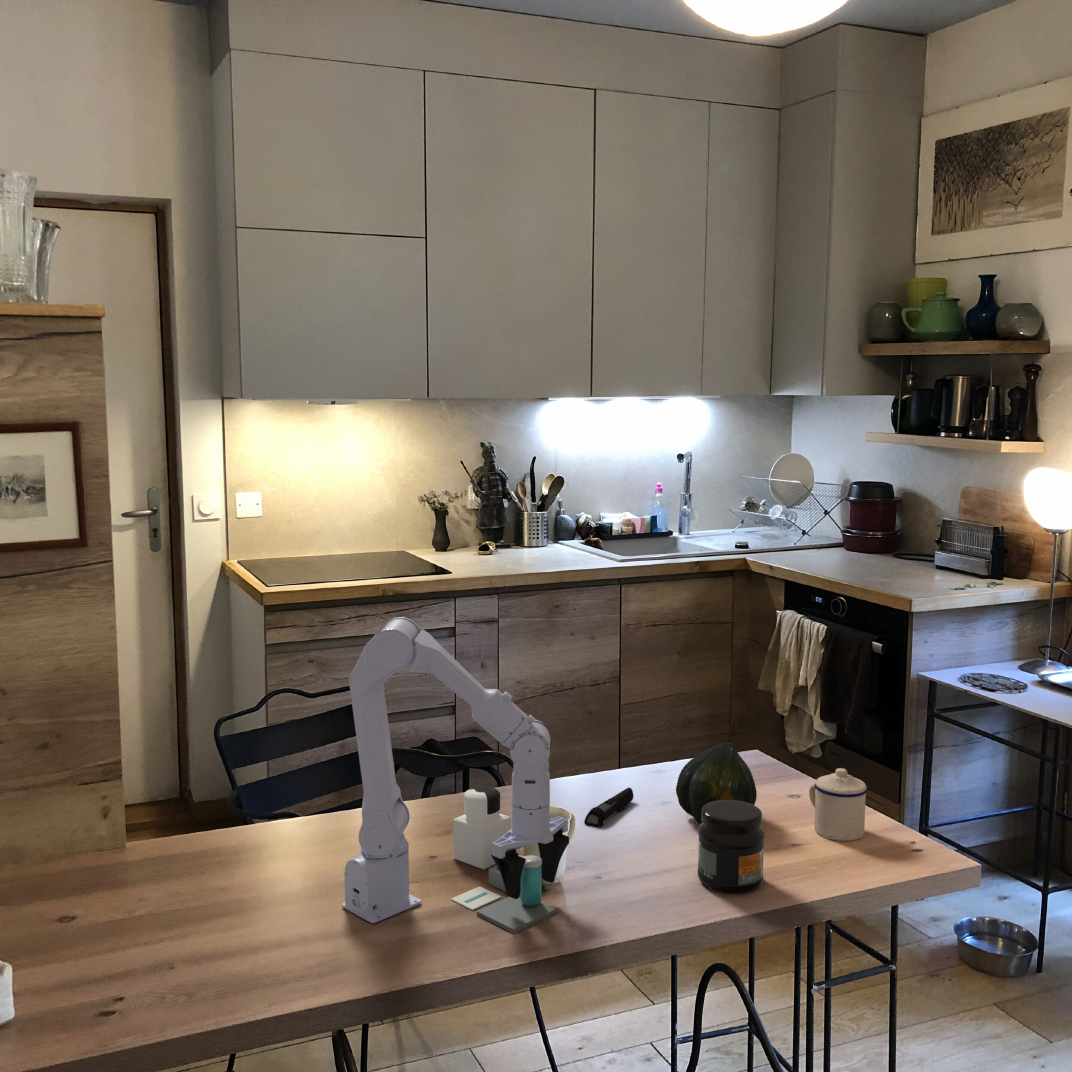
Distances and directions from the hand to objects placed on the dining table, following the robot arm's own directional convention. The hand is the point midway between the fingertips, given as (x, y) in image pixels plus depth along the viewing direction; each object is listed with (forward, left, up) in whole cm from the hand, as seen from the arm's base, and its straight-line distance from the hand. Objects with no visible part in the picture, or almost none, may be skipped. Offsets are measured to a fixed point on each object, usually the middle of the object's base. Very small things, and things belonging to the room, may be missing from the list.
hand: (530, 888), depth 164 cm
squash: (+49, 0, -3) cm, 49 cm away
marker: (0, 0, -2) cm, 2 cm away
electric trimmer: (+37, +16, -3) cm, 41 cm away
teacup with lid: (+60, -18, -3) cm, 63 cm away
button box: (+4, +8, -3) cm, 9 cm away
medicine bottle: (+7, +18, -3) cm, 20 cm away
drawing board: (-3, 0, -3) cm, 4 cm away
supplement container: (+29, -16, -3) cm, 34 cm away
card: (-4, +8, -3) cm, 9 cm away
